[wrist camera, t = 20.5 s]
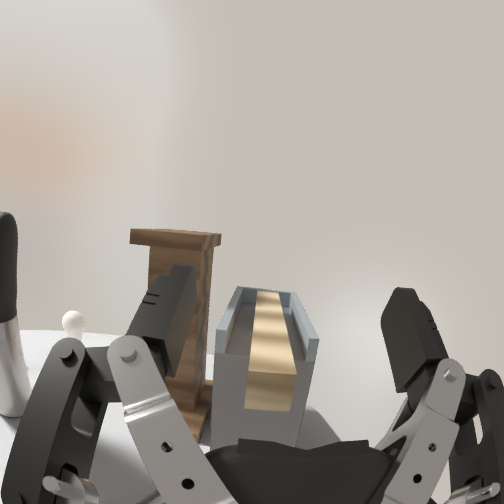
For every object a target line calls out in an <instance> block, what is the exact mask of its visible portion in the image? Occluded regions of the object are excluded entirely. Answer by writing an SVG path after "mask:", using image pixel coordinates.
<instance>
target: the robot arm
mask: <svg viewBox="0 0 504 504" xmlns="http://www.w3.org/2000/svg"><path fill="white" fill-rule="evenodd" d="M17 247H18V233H17V225H16V221H15V219H14V217H13V216H12V215H11V214H10V213H7V212H0V414H2V415H4V416H7V417H21V416H22V418H21V421H20V424H19V427H18V430H17V433H16V436H15V439H14V442H13V445H12V448H11V452H10V455H9V459H8V462H7V466H6V470H5V474H4V478H3V483H2V487H1V499H2V502H3V504H99V495H98V492H97V490H96V488H95V486H94V485H93V484H92V483H91V482H90V481H89V480H88V478H89V473H90V469H91V465H92V460H93V456H94V452H95V448H96V444H97V441H98V437H99V433H100V429H101V426H102V422H103V419H104V415H105V412H106V409H107V405H108V402H122V404H123V407H124V410H125V413H124V417H125V420H126V423H127V426H128V428H129V431H130V433H131V435H132V438H133V440H134V442H135V445H136V447H137V449H138V451H139V453H140V456H141V458H142V460H143V462H144V464H145V466H146V468H147V470H148V472H149V474H150V476H151V478H152V480H153V482H154V484H155V485H156V487H157V490H156V491H154V492H153V493H152V494H150V495H149V496H147V497H146V498H144V499H143V500H141V501H140V502H138V503H137V504H437V503H436V502H435V501H434V500H433V499H431V495H432V493H433V491H434V489H435V487H436V485H437V482H438V481H439V478H440V476H441V474H442V472H443V470H444V467H445V465H446V462H447V460H448V459H449V469H450V483H451V496H450V498H449V500H447V501H446V502H445V503H444V504H504V386H503V384H502V381H501V378H500V376H499V375H498V374H497V373H496V372H495V371H493V370H491V369H486V370H484V371H483V372H482V373H481V374H480V375H479V376H474V375H470V374H466V373H465V371H464V369H463V367H462V366H461V365H460V364H459V363H458V362H457V361H455V360H453V359H449V357H448V354H447V352H446V349H445V346H444V344H443V341H442V339H441V336H440V334H439V331H438V330H437V326H436V324H435V322H434V319H433V317H432V314H431V312H430V310H429V309H428V308H427V307H426V305H425V304H424V303H423V302H422V301H420V300H419V298H418V296H417V294H416V292H415V290H414V289H412V288H400V287H397V288H395V290H394V291H393V293H392V296H391V297H390V299H389V301H388V304H387V306H386V307H385V309H384V311H383V314H382V317H381V329H382V333H383V337H384V340H385V344H386V348H387V352H388V356H389V360H390V364H391V369H392V373H393V377H394V382H395V387H396V392H397V393H403V392H407V395H408V397H407V398H406V399H405V400H404V402H403V404H402V406H401V408H400V410H399V412H398V414H397V416H396V418H395V420H394V421H393V423H392V425H391V427H390V428H389V430H388V432H387V434H386V435H385V436H384V438H383V439H382V440H381V441H380V442H379V443H378V444H377V445H376V447H375V448H371V447H369V442H368V440H359V441H345V442H344V441H343V442H336V443H333V444H329V445H326V446H322V447H318V448H314V449H310V450H303V449H299V448H295V447H291V446H288V445H284V444H280V443H277V442H274V441H263V440H251V439H242V438H238V444H236V445H228V446H224V447H220V448H217V449H214V450H212V451H210V452H208V453H206V454H204V453H203V451H202V450H201V448H200V446H199V445H198V443H197V441H196V440H195V438H194V436H193V435H192V433H191V431H190V429H189V428H188V426H187V424H186V422H185V420H184V418H183V417H182V415H181V413H180V411H179V409H178V407H177V405H176V403H175V402H174V400H173V398H172V397H171V395H170V394H169V392H168V390H167V388H166V385H165V383H164V382H165V378H166V376H167V377H172V378H175V375H176V372H177V368H178V365H179V361H180V358H181V355H182V351H183V348H184V345H185V341H186V338H187V335H188V331H189V328H190V325H191V322H192V319H193V315H194V312H195V309H196V303H197V287H196V273H195V266H194V265H186V264H178V263H175V264H174V266H173V268H172V270H171V272H170V274H169V276H167V275H160V276H159V277H157V278H156V279H155V280H154V281H153V282H152V283H151V284H150V286H149V288H148V290H147V292H146V295H145V296H144V298H143V300H142V303H141V304H140V306H139V308H138V310H137V312H136V314H135V316H134V318H133V320H132V323H131V325H130V327H129V329H128V331H127V333H126V335H125V336H122V337H120V338H118V339H116V340H115V341H113V342H112V343H111V345H110V346H107V347H90V348H85V347H84V345H83V344H82V342H81V341H80V340H78V339H76V338H72V337H69V338H64V339H61V340H60V341H58V342H57V343H56V344H55V345H54V346H53V347H52V349H51V351H50V353H49V355H48V357H47V359H46V361H45V363H44V366H43V368H42V370H41V372H40V374H39V377H38V379H37V381H36V383H35V386H34V388H33V390H31V386H30V382H29V378H28V374H27V370H26V365H25V360H24V356H23V350H22V345H21V339H20V332H19V326H18V318H17V309H16V299H17V298H16V297H17V249H18V248H17ZM477 414H479V417H480V421H481V425H482V431H483V438H482V441H481V442H480V444H477V438H476V433H475V427H474V422H473V418H474V417H475V416H476V415H477Z"/></svg>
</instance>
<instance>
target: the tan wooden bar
mask: <svg viewBox="0 0 504 504" xmlns="http://www.w3.org/2000/svg"><path fill="white" fill-rule="evenodd" d="M296 377H297V373H296V368H295V364H294V359H293V355H292V350H291V346H290V341H289V337H288V332H287V328H286V324H285V319H284V315H283V310H282V306H281V302H280V297H279V293H278V292H267V291H257V299H256V308H255V317H254V326H253V335H252V344H251V352H250V361H249V370H248V378H247V387H246V396H245V405H244V408H245V409H255V410H266V411H281V412H290V407H291V402H292V397H293V392H294V387H295V382H296Z"/></svg>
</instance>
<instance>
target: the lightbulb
mask: <svg viewBox="0 0 504 504" xmlns="http://www.w3.org/2000/svg"><path fill="white" fill-rule="evenodd" d="M62 325H63V328H64V330H65V332H66V333H67V335H68V337H72V338H76V339H78V340H80V341H81V338H82V334H83V332H84V329H85V325H86V324H85V319H84V317H83V316H82V314H80V313H79V312H77V311H69V312H67V313H66V314H65V315H64V317H63V320H62Z"/></svg>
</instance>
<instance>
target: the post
mask: <svg viewBox="0 0 504 504" xmlns="http://www.w3.org/2000/svg"><path fill="white" fill-rule="evenodd" d="M130 244H137V245H147V246H150V255H149V273H148V275H149V276H148V288H149V286H150V284H151V283H152V282H153V281H154V280H155V279H156V278H157V277H159V276H160V275H167V276H169V274H170V272H171V270H172V268H173V266H174V264H175V263H178V264H186V265H194V266H195V273H196V287H197V303H196V309H195V312H194V315H193V319H192V322H191V325H190V328H189V331H188V335H187V338H186V341H185V345H184V348H183V351H182V355H181V358H180V361H179V365H178V368H177V372H176V375H175V378H172V377H167V376H166V378H165V382H164V383H165V385H166V388H167V390H168V392H169V394H170V395H171V397H172V398H173V400H174V402H175V403H176V405H177V407H178V409H179V411H180V413H181V415H182V417H183V418H184V420H185V422H186V424H187V426H188V428H189V429H190V431H191V433H192V435H193V436H194V438H195V440H196V441H197V443H199V440H200V437H201V434H202V431H203V428H204V424H205V421H206V418H207V415H208V412H209V409H210V406H211V402H212V391H213V381H212V380H206V379H205V370H206V350H207V332H208V316H209V315H208V314H209V300H210V287H211V274H212V262H213V250H214V247H215V246H219V245H220V244H221V234H217V233H206V232H196V231H185V230H172V229H131V233H130Z"/></svg>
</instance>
